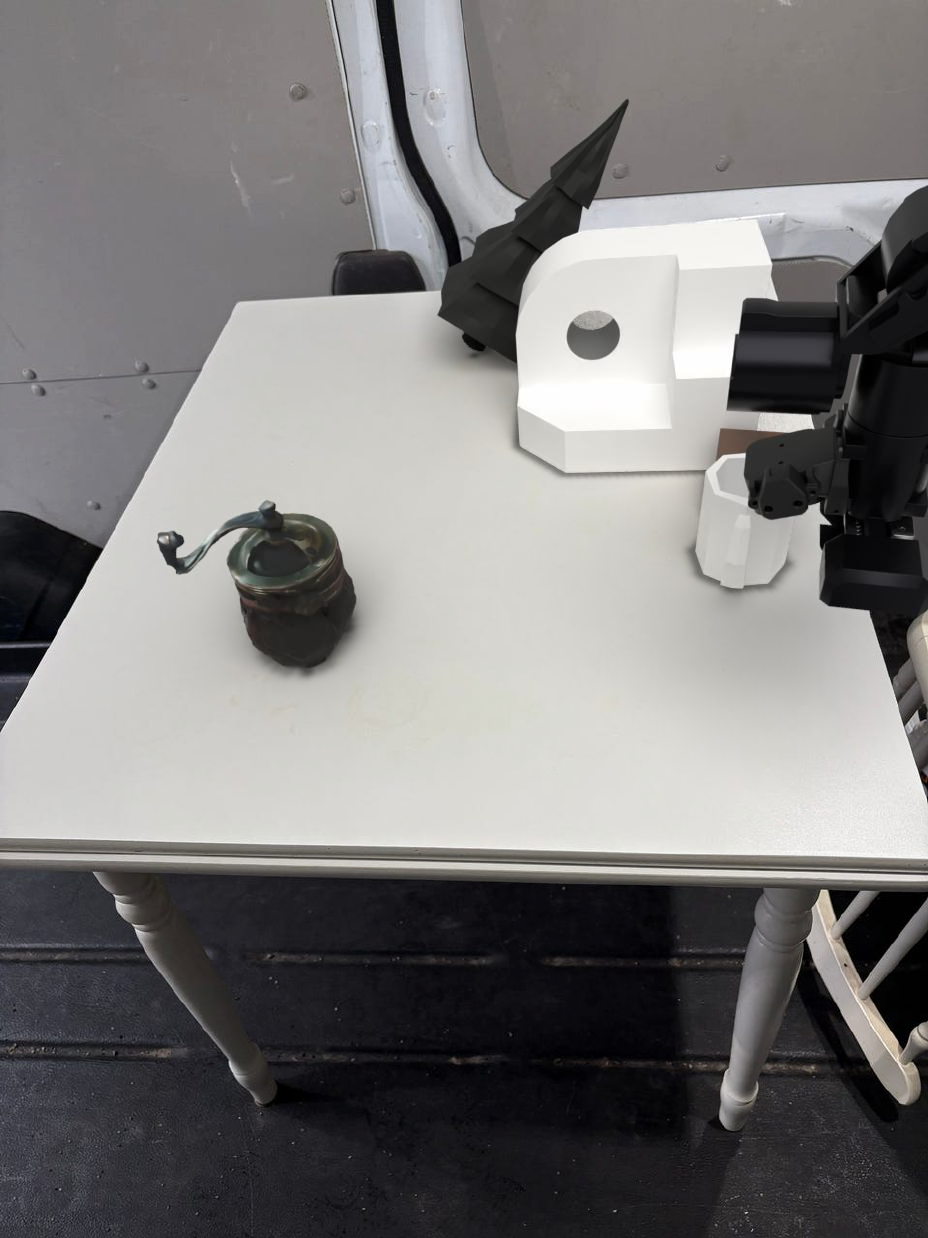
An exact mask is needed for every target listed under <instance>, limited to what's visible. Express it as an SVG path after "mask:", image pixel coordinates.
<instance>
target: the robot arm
mask: <svg viewBox="0 0 928 1238" xmlns="http://www.w3.org/2000/svg"><path fill="white" fill-rule="evenodd" d="M884 290H885V292H886V296H885V297H884V298H883V299H882V300H881V297H880V293H881V292H882V291H884ZM852 355H859V358H858V362H857V367H856V372H855V375H854V378H853V379H854V380H853V384H852V388H851V392H850V396H849V401H848V403H847V402H844V403H843V404H842V409H837V410H836V412H835V413H834V414H833V415H831V416H829V417H828V418H826V419H825V420H824V421H823V425H822V427H821V428H803V429H800V430H795V431H789V432H787V433H785V434H781V435H777V436H772V437H768V438H763V439H759V440H756V441H754V442H753V443H751V444H750V445H749V446H748V447H747V449H746V456H745V465H744V479H745V482H746V485H747V488H748V492H749V495H748V506H749V507H750V508H751V509H754V511H755V513H757V514H758V515H762V516H763V517H764V518H766V519H768V520H776V519H781V518H787V517H793V516H796V517H797V516H803V515H804V514H805V513H806V512H807V511H808V510H809V506H813V505H817V504H819V513H820V514H821V515H822V517H824V519H825V520H826V521H827V522H828V523H829V524H825V523H820V524H819V548H820V550H821V555H820V556H821V557H820V564H819V571H818V573H819V574H818V576H819V577H818V578H819V579H818V600H820V601H821V602H822V603H823V604H824V605H826V606H827V607H831V608H838V609H839V608H840V609H848V610H849V609H851V610H856V611H857V610H859V611H866V612H876V613H885V614H894V615H895V614H896V615H902V616H903V615H905V616H913V617H919V616H920V615H923V614H924V613H926V612H927V611H928V548H927V547H926V546H925V545H924V544H923V543H922V542H921V541H920V540H919V539H916V530H915V520H914V518H925V517H926V514H927V511H928V490H927V484H928V184H927V185H924V186H922V187H919V188H917V189H916V190H914V191H912V192H911V193H910V194H908V195H907V196H906V197H905V198H904V199H903V201H902V202H901V204H900V205H899V206H898V207H897V208H896V209H895V211H894V212H893V213H892V214H891V216H890V217H889V219H888V220H887V223H886V225H885V227H884V230H883V231H882V233H881V239H880V240H879V241H878V242H877V243H876V244H875V245H874V246H872V247H871V249H869V250H868V252H866V253H865V254H864V255H863V256H862V257H861V258H860V259H859V260H858V261H857V262H856V263H855V264H854V265H852V267H851V268H850V269H849V270H848V271H847V272H846V273H845V274H844V275H842V276H841V277H840V278H839V279H838V281H836V283H835V299H834V301H785V300H784V301H783V300H782V301H781V300H775V299H771V298H768V297H767V298H746V299H745V300H744V301H743V304H742V312H741V319H740V327H739V334H735V341H734V350H733V358H732V366H731V375H730V383H729V391H728V400H727V408H726V411H738V412H760V414H761V413H762V414H782V415H783V414H785V415H805V416H806V415H807V416H808V415H809V416H820V414H822V413H827V414H829V413H830V412H831V410H832V408H833V403H834V400H841V399H842V398H843V396H844V393H845V389H846V386H847V381H848V376H849V370H850V364H851V360H852Z"/></svg>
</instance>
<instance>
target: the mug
mask: <svg viewBox="0 0 928 1238" xmlns="http://www.w3.org/2000/svg"><path fill="white" fill-rule="evenodd" d="M745 456H746V453H742V454H731V455H723V456H722V457H721V458H720V459H719V460H718V461H716V462H715V463H714V464H713V465H712V466H711V467H710V468H709V469H708V470H705V474H704V482H703V489H702V497H701V502H700V503H701V504H700V512H699V518H698V528H697V536H696V541H695V542H696V543H695V549H694V551H695V555H696V557H697V561H698V563H699V566H700V570H701V572H702V575H705V576H707V577H709V578H711V579H713V580H716V581H718V582H720V584H719V585H720V586H723V587H727V588H731V589H742V590H743V589H744V587H745V586H755V585H757V586H758V585H768V584H769V583H770V582H771V581H772V580H773V578H774V577H775V576H776V575H777V574H778V573H779V572H780V570H781V569H782V568H783V566H784V565H785V564H786V560H787V555H788V551H789V547H790V543H791V539H792V535H793V530H794V526H795V522H796V518H797V516H793V517H787V518H781V519H776V520H768V519H766V518H764V517H763V516H762V515H758V514H757V513H755V511H754V509H751V508H750V507H749V506H748V495H749V492H748V488H747V485H746V482H745V479H744V465H745Z"/></svg>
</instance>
